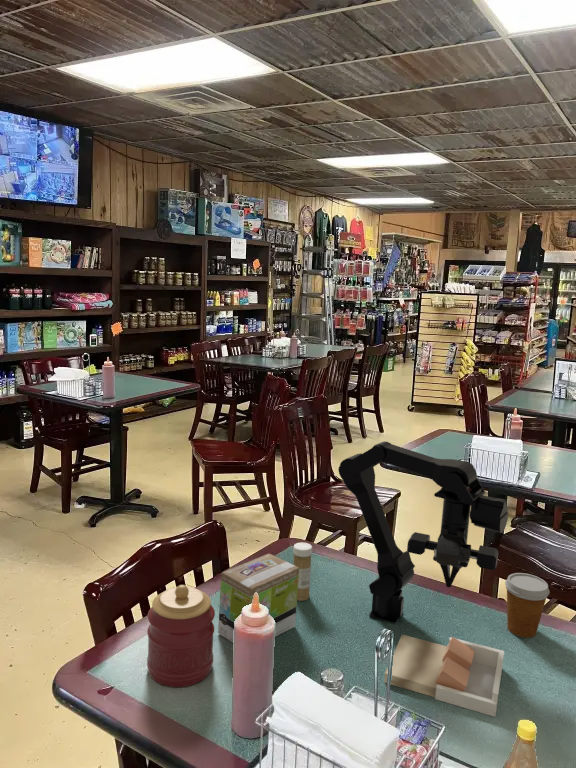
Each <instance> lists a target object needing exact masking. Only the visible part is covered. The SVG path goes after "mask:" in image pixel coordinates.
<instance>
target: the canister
mask: <svg viewBox="0 0 576 768" xmlns="http://www.w3.org/2000/svg"><path fill="white" fill-rule="evenodd" d="M211 601H212V600H211V598H210V596H209V595H208V594H207V593H206V592H204V591H202V590H199V589H198V588H195V587H192V586H188V585H185V584H179V585H178V586H173V587H170V588H169V589H168V588H167V589H166V590H164V591H163V592H161V593H159V594H157V595H156V596H155V597H154V598H153V600H152V606H151V607H150V608H149V610H148V613H147V620H148V622H149V625H148V628H147V637H148V639H147V640H148V643H147V646H148V647H147V657H146V661H147V663H146V666H147V669H148V670H147V671H148V674H149V676H150V677H151V679H152V680H153V681H154V682H156V683H158V684H159V685H163V686H166V687H171V688H183V687H189V686H192V685H196V684H198V683H200V682H202V681H203V680H204V679H206V678H207V677H208V675H209V674H210V673H211V671H212V668H213V663H214V652H213V650H214V647H213V646H214V633H215V625H214V622H213V620H214V619H215V616H216V613H215V612H216V611H215V608H214V606H212V602H211Z"/></svg>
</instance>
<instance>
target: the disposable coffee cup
mask: <svg viewBox="0 0 576 768" xmlns="http://www.w3.org/2000/svg"><path fill="white" fill-rule="evenodd" d="M504 585H505V589H506V606H507V607H506V615H507V618H506V619H507V620H506V621H507V622H506V624H507V630H508V631H509V632H510V633H512V634H513V635H515V636H517V637H520V638H525V639H526V638H530V639H531V638H533V637H535V636H536V635H537V632H538V628H539V625H540V622H541V619H542V614H543V612H544V611H543V610H544V607H545V605H546V600H547V598H548V596H550V593H551V592H550V591H551V590H550V589H549V584H548V583H547V581H545V580H544V579H542V578H540V577H539V576H536V575H534V574H531V573H530V574H529V573H523V572H515V573H511V574H509V575H508V576H507V579H506V580H505V582H504Z"/></svg>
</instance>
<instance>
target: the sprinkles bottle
mask: <svg viewBox="0 0 576 768" xmlns="http://www.w3.org/2000/svg"><path fill="white" fill-rule="evenodd" d="M292 553H293V562H292V563H293V564H292V565H294V566H297V567H299V581H298V594H297V602H298V601H299V602H304V601H307V600H308V599H309V598H310V586H311V572H312V571H311V570H312V554H313V546H312V544H310V543H307V542H296V543H294V545H293V552H292Z"/></svg>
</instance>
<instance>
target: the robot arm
mask: <svg viewBox="0 0 576 768" xmlns="http://www.w3.org/2000/svg"><path fill="white" fill-rule="evenodd" d="M382 462H383V463H386V464H387V465H391V466H394V467H396V468H399V469H403V470H406V471H409V472H412V473H413V474H414V473H415V474H417V475H420V476H423V477H426V478H429V479H430V480H431V481H433V482H434V483H435V484H436V485H437V486H439V487H440V489H439V490H438V491H437V492H435V493H434V494H433V496H434V497H436V498H441V499H443V501H442V502H443V503H442V512H441V513H442V515H441V524H440V525H441V526H440V533H439V536H438V537H437V541H433V540H431V535H430V534H426V533H421V532H413V533H412V534H411V535H410V537H409V538H408V540H407V546H406V547H407V549H406V550H405V551H402V550H401V549H400V548H399V547H398V545H397V543H396V540H395V537H394V536H393V533H392V530H391V527H390V525H389V522H388V520H387V517H386V514H385V512H384V510H383V506H382V504H381V501H380V499H379V496H378V494H377V490H376V489H375V488H376V473H375V469H374V467H375V466H377V465H379V464H381V463H382ZM337 469H338V474H339V476H340V478H341V480H342V482H343V483H344V485H345V487H346V488H347V489H348V490H349V491H350V492H351V493H352V494H353V495H354V496H355V498H356V501H357V503H358V506H359V509H360V511H361V514H362V517H363V519H364V521H365V524H366V527H367V530H368V532H369V534H370V537H371V541H372V542H373V545H374V547H375V550H376V554H377V562H376V563H377V564H376V568H377V569H376V570H377V572H378V573H377V574H378V577H377V578H376V579H375V580H373V581H372V582H371V583H370V584H368V587H369V591H370V594H371V595H372V600H371V611H370V612H369V614H368V615H369V617H370V618H373V619H376V620H380V621H384V622H389V623H392V624H397V622H399V619H400V618H401V616H402V615H403V613H404V604H405V602H404V601H405V597H404V596H403V595H402V594H403V588H404V587H406V585H408V583H410V582H411V581H412V580H413V578H414V575H415V570H414V568H415V567H416V565H415V564H414V562H413V561H412V558H411V554H415V555H420V556H422V555H423V554H425V552H426V550H428V551H433V557H432V560H433V561H435V562H436V563H438V565H439V566H440V569H441V572H442V575H443V579H444V582H445V585H446V588H451V587H452V585H453V584H454V581H455V578H456V577H457V574H458V573H459V572H460V570H461V569H462V568H467V567H468V566H469V563H470V559H472V560H476V565H477V566H478V567H479V568H480V569H486V570H490V571H496V569H497V566H498V565H497V564H498V557H499V550H498V549H497V548H496V547H490V546H487V545H486V546H485V545H483V544H482V545H479V547H478V549H473V548H472V545H471V544H469V543H468V536H469V535H468V534H469V526H470V523H471V524H473V526H475V527H478V528H481V529H485V530H489V531H493V532H497V533H500V534H503V533H504V532H505V529H506V527H507V524H508V519H509V512H508V506H507V500H506V498H505V499H504V498H497V497H493V496H489V495H485V494H486V491H485V489H484V488H483V485H482V483H481V482H480V480H479V478H478V477H477V476H478V475H477V470H476V469H475V466H474V465H473V464H472V462H469V461H466V460H461V459H452V458H437V457H433V456H429V455H426V454H423V453H421V452H418V451H414V450H411V449H408V448H405V447H402V446H399V445H396V444H392V443H391V442H389V441H381V442H379V443H377V444H374V445H373V446H372V447H371V448H369V449H368V450H366V451H364V452H361V453H356V454H354V455H352V456H349V457H346V458H345V459H343V460H341V462H340V463H339V467H338V468H337ZM469 489H470V491H469ZM451 568H452V569H451Z"/></svg>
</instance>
